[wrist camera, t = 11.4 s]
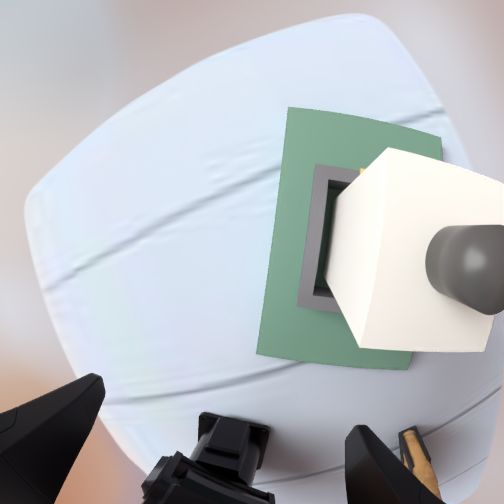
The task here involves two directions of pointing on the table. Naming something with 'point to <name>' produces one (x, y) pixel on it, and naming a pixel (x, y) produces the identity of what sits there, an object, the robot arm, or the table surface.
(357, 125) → the header board
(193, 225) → the table surface
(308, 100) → the table surface
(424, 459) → the ammunition clip
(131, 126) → the table surface
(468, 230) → the plug block
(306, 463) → the table surface
